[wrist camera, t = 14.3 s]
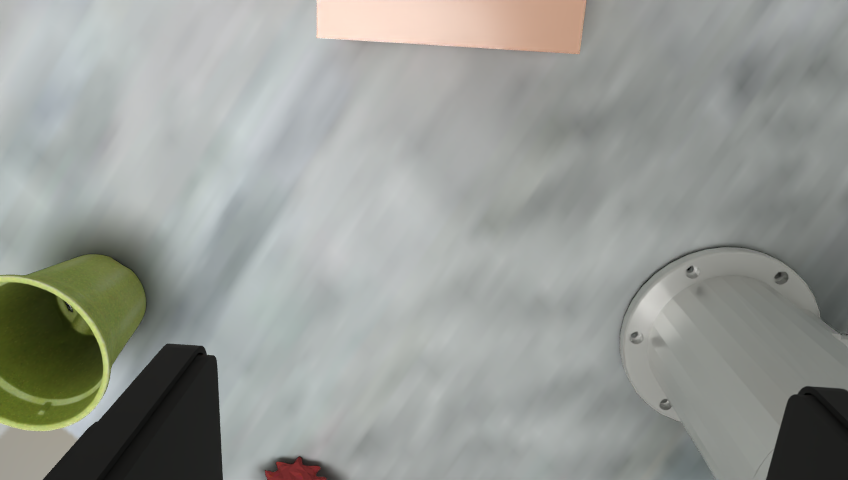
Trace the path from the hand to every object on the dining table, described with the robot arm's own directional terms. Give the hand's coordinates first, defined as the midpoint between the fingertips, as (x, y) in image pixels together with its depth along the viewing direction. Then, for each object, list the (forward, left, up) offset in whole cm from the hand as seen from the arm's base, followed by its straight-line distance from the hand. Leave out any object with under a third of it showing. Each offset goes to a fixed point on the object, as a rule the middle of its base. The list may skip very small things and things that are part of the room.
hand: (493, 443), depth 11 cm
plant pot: (+23, +12, -31) cm, 40 cm away
